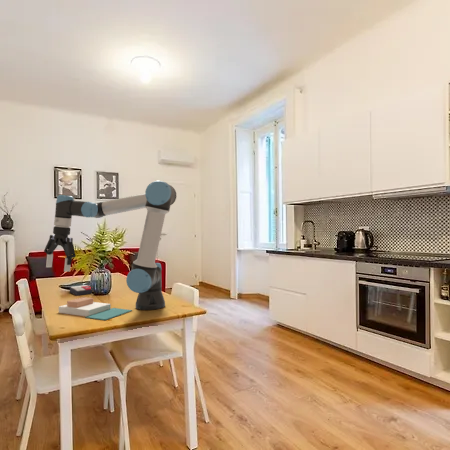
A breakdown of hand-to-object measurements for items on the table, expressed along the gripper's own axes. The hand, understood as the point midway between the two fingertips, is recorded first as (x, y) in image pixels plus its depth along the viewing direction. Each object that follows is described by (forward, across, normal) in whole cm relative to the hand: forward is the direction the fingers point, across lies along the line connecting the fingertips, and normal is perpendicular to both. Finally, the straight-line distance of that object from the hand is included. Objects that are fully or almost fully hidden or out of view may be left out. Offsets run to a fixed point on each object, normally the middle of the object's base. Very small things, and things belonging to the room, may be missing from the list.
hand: (57, 269), depth 161 cm
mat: (+18, +28, +9) cm, 35 cm away
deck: (+20, +12, +8) cm, 25 cm away
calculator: (+23, -30, +42) cm, 56 cm away
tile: (+17, +9, +8) cm, 21 cm away
